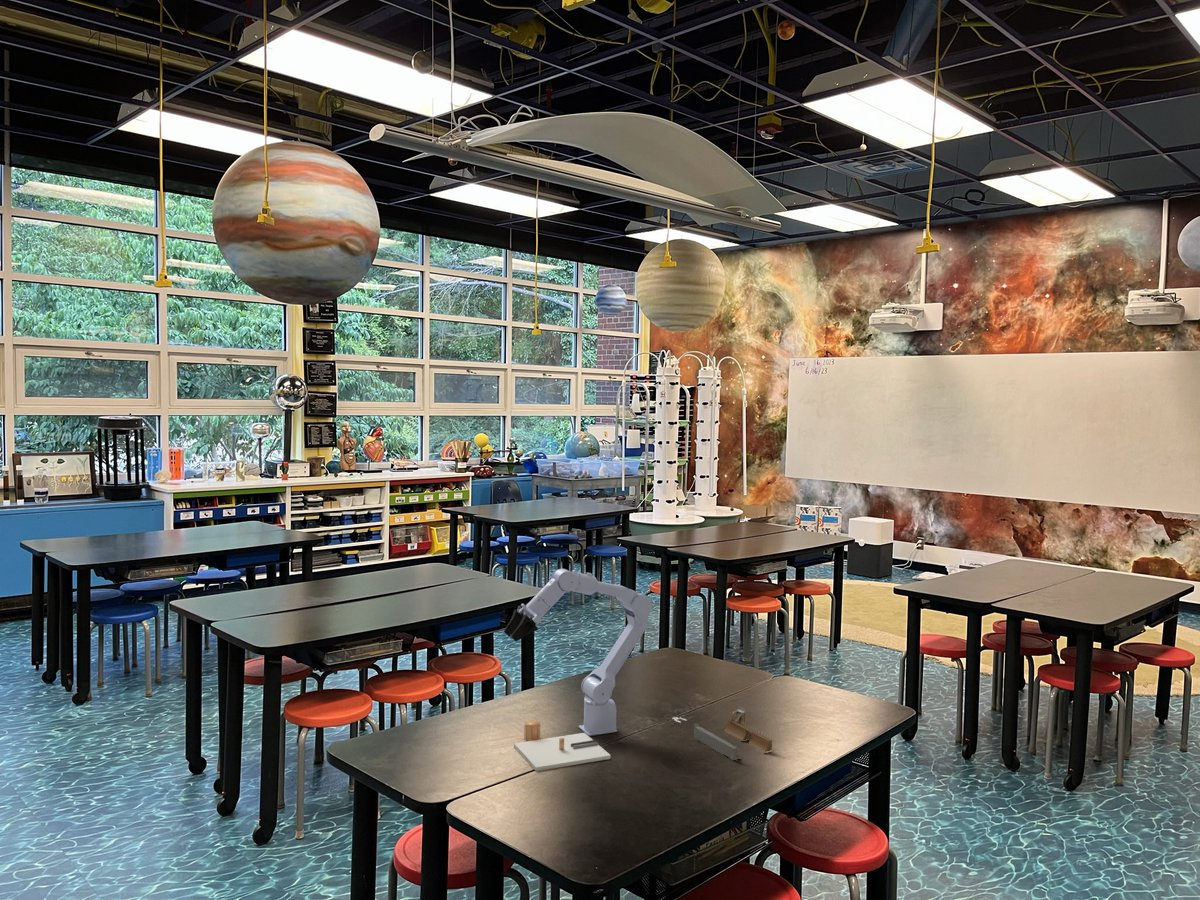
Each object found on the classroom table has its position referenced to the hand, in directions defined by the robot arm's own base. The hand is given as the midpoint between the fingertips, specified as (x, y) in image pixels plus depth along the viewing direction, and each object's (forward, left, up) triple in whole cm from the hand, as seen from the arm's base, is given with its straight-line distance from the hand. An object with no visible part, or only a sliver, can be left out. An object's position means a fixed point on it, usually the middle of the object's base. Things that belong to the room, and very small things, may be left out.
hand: (509, 636), depth 240 cm
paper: (-58, -3, -32) cm, 66 cm away
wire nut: (-8, -1, -31) cm, 32 cm away
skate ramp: (-66, +25, -32) cm, 77 cm away
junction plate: (-12, +12, -31) cm, 35 cm away
